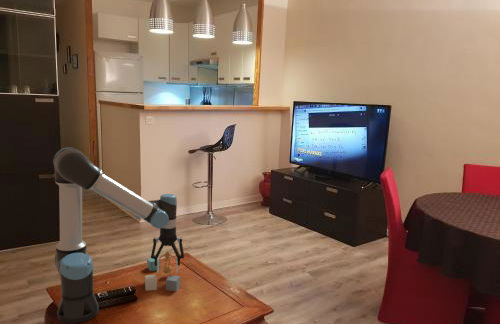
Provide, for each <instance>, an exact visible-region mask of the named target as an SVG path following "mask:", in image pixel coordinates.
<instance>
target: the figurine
mask: <svg viewBox="0 0 500 324" xmlns="http://www.w3.org/2000/svg"><path fill="white" fill-rule="evenodd" d="M159 256H160V257H158V258H159V260H160V261H161V258H163V257H164V265H165V266H164V267H163V272H164V273H165V274H170V273H172V271H173V269H172V268H173V267H172V266H171V265H170V264H171V258H173V259H174V260H175V261H176V258H175V256H174V255H172V254H170V252H169V251H168V250H167V251H166V252H165V253H164V254H162V255H159ZM170 257H171V258H170ZM167 262H168V264H167Z"/></svg>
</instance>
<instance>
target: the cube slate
mask: <svg viewBox="0 0 500 324" xmlns="http://www.w3.org/2000/svg"><path fill="white" fill-rule="evenodd" d="M180 287H181V276H180V275H171V274H170V275H168V276H167V278H166V280H165V291H172V292H178V289H179V288H180Z"/></svg>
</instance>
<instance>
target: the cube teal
mask: <svg viewBox="0 0 500 324" xmlns="http://www.w3.org/2000/svg"><path fill="white" fill-rule="evenodd" d="M146 260H147V261H146V262H147V263H146V268H147V269H148V270H149V272H155V271H157V266H155V259H153V258H151V257H149V258H146ZM159 270H161V259H160V260H159Z"/></svg>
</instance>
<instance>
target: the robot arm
mask: <svg viewBox="0 0 500 324" xmlns="http://www.w3.org/2000/svg"><path fill="white" fill-rule="evenodd" d="M52 165H53V168H54V182H55V184H56V185H58V187H59V188H58V190H59V191H58V194H59V195H58V198H59V199H58V200H59V206H58V207H59V242H58V243H57V244H56V245H55V256H54V265H55V267H56V270H57V272H58V276H59V278H60V291H61V299H60V302H59V305H58V308H57V314H56V315H57V320H58V321H59V322H61V323H63V324H81V323H85V322H89V321H90V320H92V319H93V318H94V317H95V316H97V315H98V313H99V303H98V301H97V298H96V295H95V292H94V273H93V272H94V264H93V258H92V257H91V256H90V255H89V254H88V253H87V242H86V241H85V240H83V189H84V190H86V191H91V190H92V191H93V192H95V193H97V194H98V195H100V196H102V197H103V198H106V199H107V200H108V201H111V202H112V203H114V204H116V205H117V206H119V207H121V208H123V209H124V210H126V211H128V212H130V213H132V214H133V215H134V217H135V218H136V219H138V220H139V219H141V220H143V221H145V222H147V223H149V224H150V225H151V226H152V227H153V228H156V229H159V237H156V236H154V237H153V239H152V242H153V245H152V248H151V249H152V250H151V255H150V258H153V259H155V266H157V270H156V274H159V273H160V272H159V271H160V269H159V258H160V257H159V256H160V254H161V252H162V250H163V248H164V247H171V248H172V249H173V252H174V254H175V256H176V258H175V259H176V260H175V273H176V274H177V273H178V270H179V266H181V259H184V258H185V253H184V246H183V237H177V209H178V208H177V207H178V202H177V201H178V199H177V196H176V195H175V194H174V193H164V194H161V195H160V198H159V199H155V200H153V199H152V200H147V199H145V198H143V197H142V196H140V195H139V194H137V193H136V192H134V191H132V190H131V189H129V188H128V187H126V186H124V185H123V184H121V183H119V182H118V181H116V180H114V179H113V178H111V177H110V176H108V175H106V174H105V173H103V169H102V168H100V167H99V166H97V165H95V163H93V162H92V161H91V160H90V159H89V158H88V157H87V156H86V155H85V154H83V152H82V151H81V150H79V149H77V148H75V147H64V148H61V149H60V150H58V151H57V152H56V153H55V155H54V157H53V160H52ZM159 241H160V246H159V248H158V250H157V252H155V251H156V246H157V244H158V243H159ZM176 241H177V243H178V246H179V250H178V248H177V246H176ZM179 251H180V252H179ZM155 253H156V254H155Z"/></svg>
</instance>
